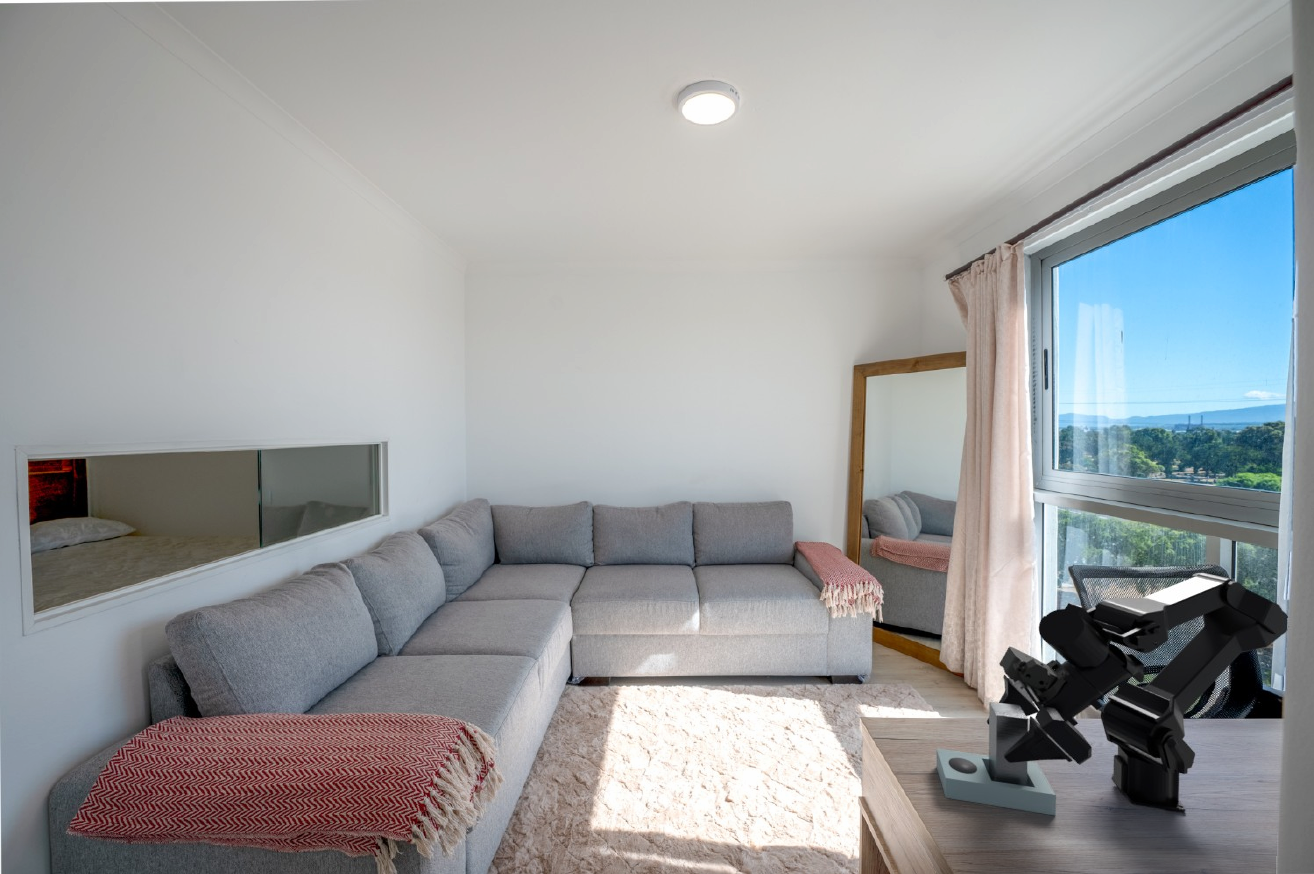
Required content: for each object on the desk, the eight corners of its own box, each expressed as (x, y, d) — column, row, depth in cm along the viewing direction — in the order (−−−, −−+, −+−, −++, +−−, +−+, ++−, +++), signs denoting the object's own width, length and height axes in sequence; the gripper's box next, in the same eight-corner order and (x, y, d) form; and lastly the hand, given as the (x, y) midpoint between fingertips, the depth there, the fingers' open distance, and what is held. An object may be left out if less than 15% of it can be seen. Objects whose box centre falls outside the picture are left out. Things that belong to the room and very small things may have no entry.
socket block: (1036, 781, 87) (1037, 761, 87) (1055, 815, 80) (1055, 794, 80) (936, 766, 92) (936, 747, 91) (945, 797, 84) (945, 777, 84)
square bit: (1018, 785, 87) (1019, 705, 86) (1027, 802, 83) (1027, 718, 82) (988, 780, 88) (989, 701, 87) (995, 797, 84) (996, 715, 83)
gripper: (1019, 612, 92) (943, 671, 96) (1064, 662, 74) (969, 732, 78) (1075, 665, 90) (996, 724, 94) (1136, 730, 72) (1035, 798, 76)
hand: (997, 741), depth 85 cm, fingers open, 9 cm apart
